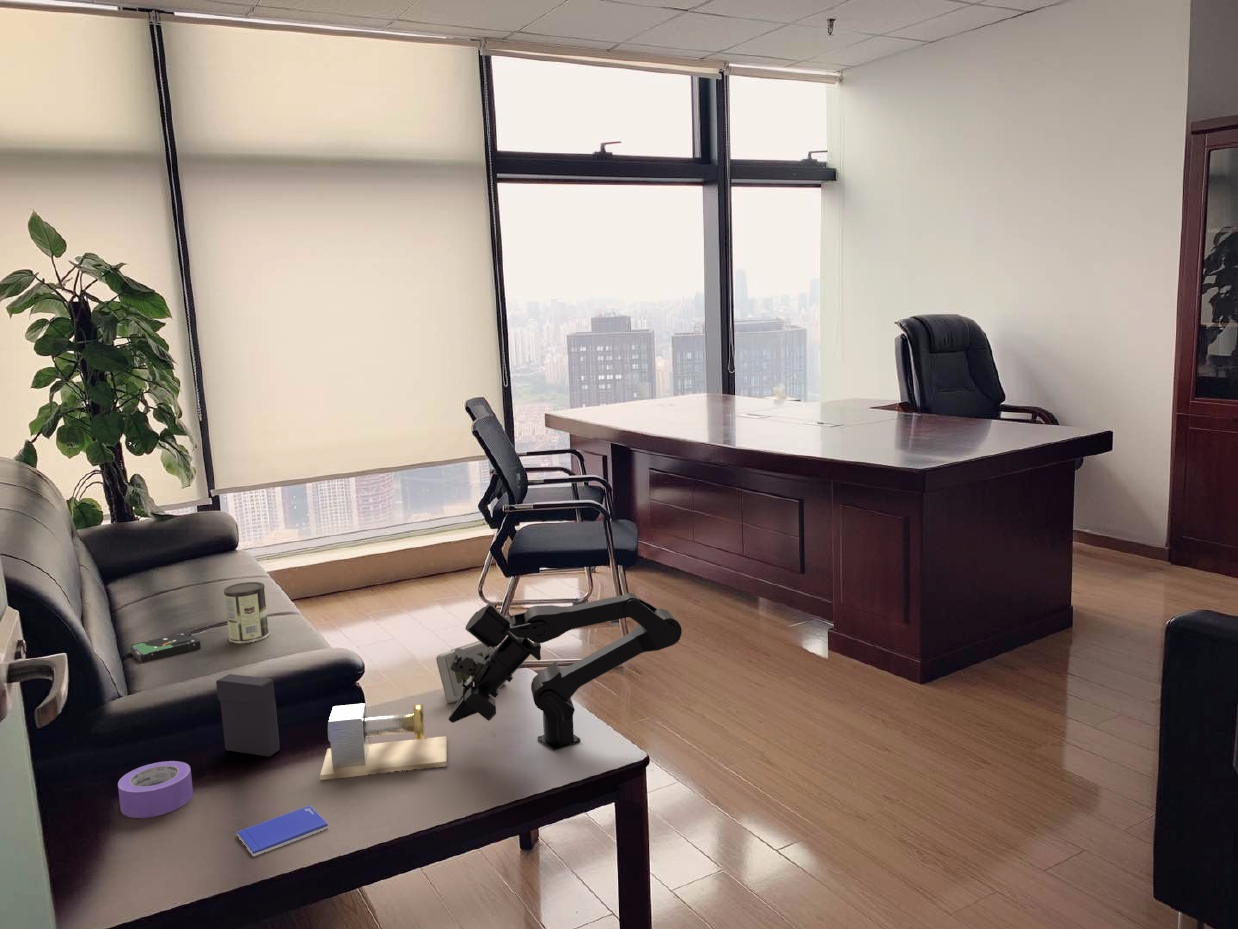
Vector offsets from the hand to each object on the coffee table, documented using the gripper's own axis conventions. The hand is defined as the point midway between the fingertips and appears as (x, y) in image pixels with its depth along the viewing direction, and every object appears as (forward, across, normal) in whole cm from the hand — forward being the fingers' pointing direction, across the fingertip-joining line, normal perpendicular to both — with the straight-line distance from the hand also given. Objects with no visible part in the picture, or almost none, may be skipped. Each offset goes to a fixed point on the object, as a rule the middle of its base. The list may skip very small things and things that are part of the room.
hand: (450, 720), depth 183 cm
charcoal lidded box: (+33, -11, -23) cm, 41 cm away
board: (+14, 0, -4) cm, 14 cm away
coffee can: (+43, -83, -33) cm, 99 cm away
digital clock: (+2, -30, +8) cm, 31 cm away
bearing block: (+18, 0, -9) cm, 20 cm away
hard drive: (+25, +23, -14) cm, 37 cm away
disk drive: (+58, -78, -47) cm, 108 cm away
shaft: (+12, 0, -8) cm, 14 cm away
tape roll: (+42, +6, -32) cm, 53 cm away
